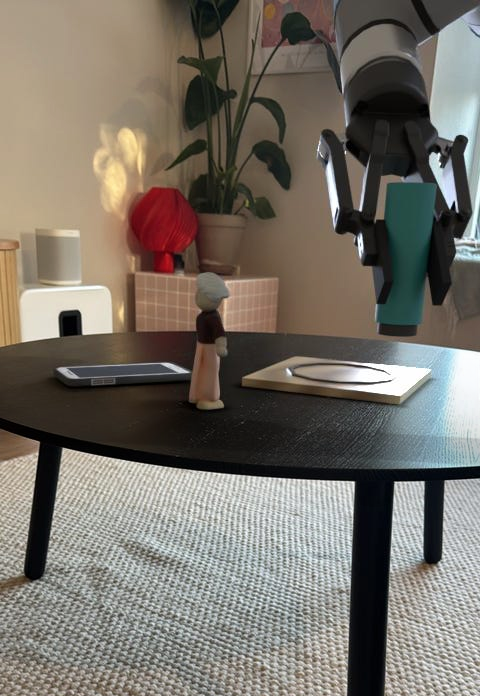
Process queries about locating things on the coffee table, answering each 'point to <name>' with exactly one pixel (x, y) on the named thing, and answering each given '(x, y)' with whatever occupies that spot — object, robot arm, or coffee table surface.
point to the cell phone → (121, 374)
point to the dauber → (407, 255)
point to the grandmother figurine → (208, 342)
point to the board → (340, 379)
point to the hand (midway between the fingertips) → (413, 293)
